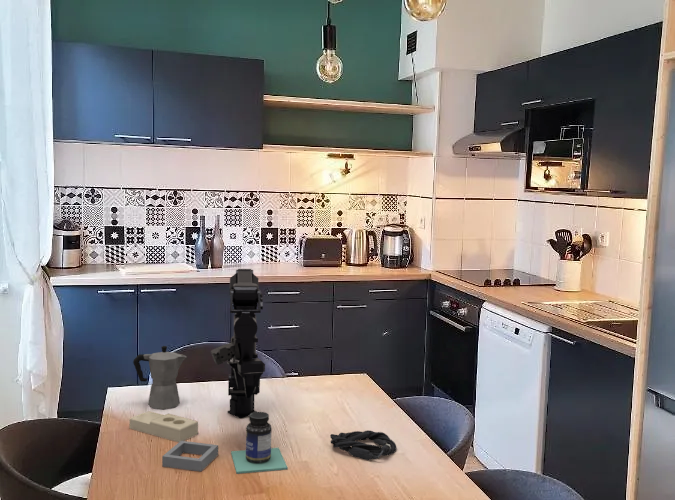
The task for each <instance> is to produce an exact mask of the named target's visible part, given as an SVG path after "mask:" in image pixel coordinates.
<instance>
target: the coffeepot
mask: <svg viewBox="0 0 675 500" xmlns="http://www.w3.org/2000/svg"><path fill="white" fill-rule="evenodd" d="M160 348H161V351H160V352H159V351H158V352H153V353H146V354H141V353H139V354H138V355H137V356H136V357H134V358H133V362H132V363H133V365H134V368H135V371H136V374H137V376H138V379H139V381H140V382H145V383H146V382H147V381H148V378H146V377H144V372H143V371H142V368H141V363H140V362H142V361H143V362H148V364H149V366H148V367H149V372H150V378H151V379H152V383H151V385H150V392H149V396H148V402H147V405H148V407H150V409H153V410H160V411H161V410H171V409H175V408H176V407H178V406H179V404H181V401H180V395H179V391H178V390H179V389H178V384H177V381H176V379H177V377H178V375H179V374H178V373H179V369H180V367H181V366H182V364H183V363H184V361H185V360H186V359H187V357H188V356H186V355H185V354H180V353H177V352H172V351H171V352H170V351H167V350H168V349H167V348H168V346H166V345H163V346H161V347H160Z"/></svg>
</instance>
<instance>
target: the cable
mask: <svg viewBox="0 0 675 500" xmlns="http://www.w3.org/2000/svg"><path fill="white" fill-rule="evenodd" d="M329 436H330V439H331V440H330V444H332V447H333V448H338V449H340V450H342V451H343V452H345V453H348V454H349V455H350V456H352V457H353V458H357V459H361V460H365V461H371V460H379V459H380V457H386V456H390V455H393V454H395V453H396V451H397V444H396V442H395V441H393V439H391V438H390V436H389V435H388V434H387V433H385V432H382V431H378V432H377V431H373V430H363V431H360V430H359V431H358V430H357V431H356V430H355V431H351V432H349V431H348V432H340V433H339V434H333V433H331V434H330V435H329ZM366 440H370V441H372V442H374V444H375V445H374V444H369V443H365V442H362V441H366Z"/></svg>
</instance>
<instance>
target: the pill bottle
mask: <svg viewBox="0 0 675 500" xmlns="http://www.w3.org/2000/svg"><path fill="white" fill-rule="evenodd" d="M248 417H249V418H248V420H249V423H248V424H247V425H246V428H245V431H246V432H245V450H246V460H247V461H249V462H252V463H264V462H267V461H268V460H270V458H271V448H272V429H273V428H272V425H271V423H269V420H270V418H269V417H270V415H269V413H267V412H265V411H257V412H253V413H251V414H250V415H249V416H248Z"/></svg>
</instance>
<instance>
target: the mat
mask: <svg viewBox="0 0 675 500" xmlns="http://www.w3.org/2000/svg"><path fill="white" fill-rule="evenodd" d="M230 454H231V458H232V462H233V466H234V470H235V473H236V474H238V475H239V474H250V473H260V472H262V473H263V472H273V471H283V470H284V471H285V470H287V471H288V468H289V467H288V465H287V463H286V461H285V458H284V456H283V454H282V452H281V449H280V448H279V447H271V458H270V460H268V461H267V462H264V463H252V462H249V461H247V460H246V449H243V450H241V449H240V450H231V451H230Z"/></svg>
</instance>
